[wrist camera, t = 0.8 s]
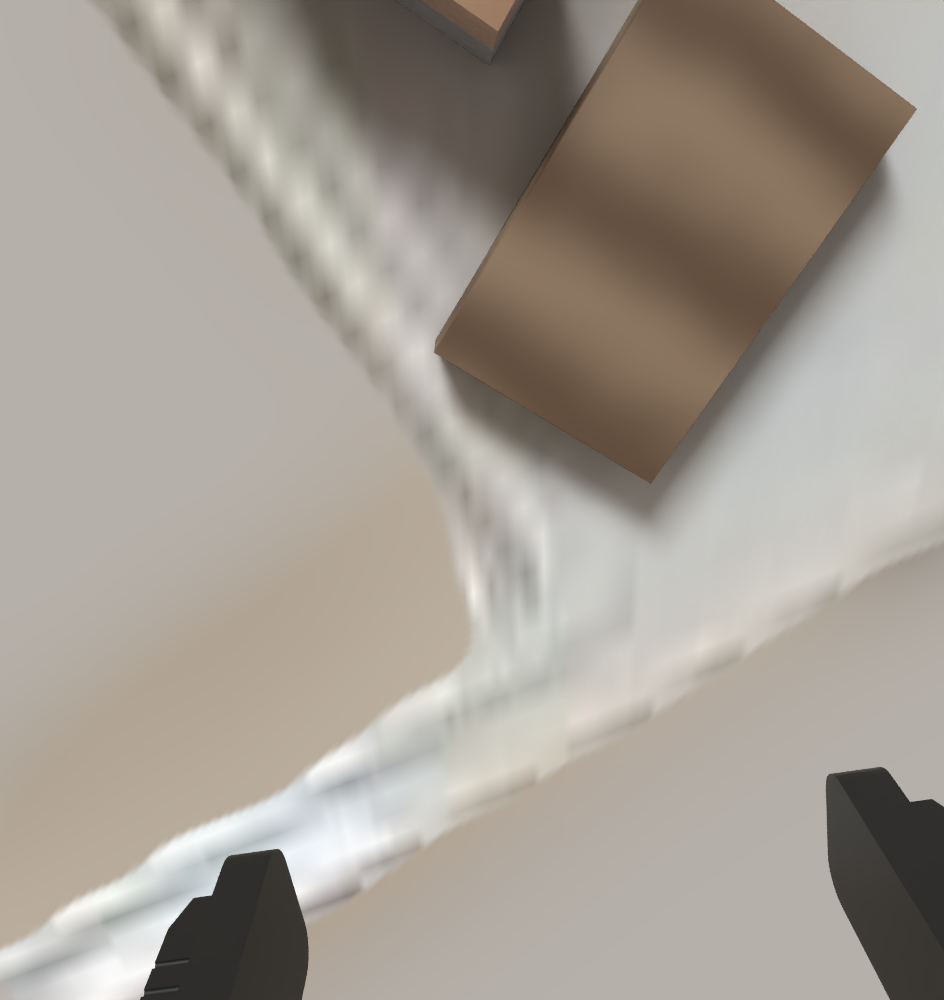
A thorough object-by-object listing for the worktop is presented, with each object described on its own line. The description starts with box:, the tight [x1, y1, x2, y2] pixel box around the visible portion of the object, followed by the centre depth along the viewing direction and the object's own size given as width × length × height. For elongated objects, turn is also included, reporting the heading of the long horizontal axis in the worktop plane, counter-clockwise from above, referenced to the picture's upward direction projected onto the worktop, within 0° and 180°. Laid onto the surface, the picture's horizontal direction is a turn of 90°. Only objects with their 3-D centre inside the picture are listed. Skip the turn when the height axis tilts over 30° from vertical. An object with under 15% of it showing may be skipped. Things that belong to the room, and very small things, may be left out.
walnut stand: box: [434, 0, 917, 483], centre depth 33 cm, size 16×10×3 cm, turn 148°
